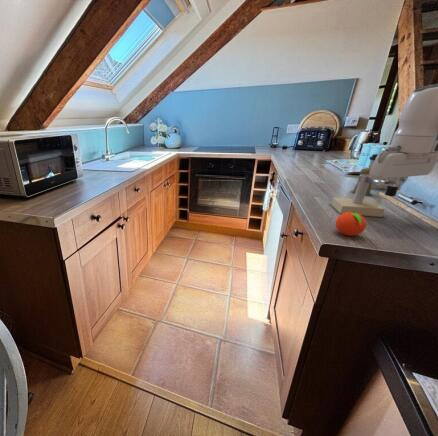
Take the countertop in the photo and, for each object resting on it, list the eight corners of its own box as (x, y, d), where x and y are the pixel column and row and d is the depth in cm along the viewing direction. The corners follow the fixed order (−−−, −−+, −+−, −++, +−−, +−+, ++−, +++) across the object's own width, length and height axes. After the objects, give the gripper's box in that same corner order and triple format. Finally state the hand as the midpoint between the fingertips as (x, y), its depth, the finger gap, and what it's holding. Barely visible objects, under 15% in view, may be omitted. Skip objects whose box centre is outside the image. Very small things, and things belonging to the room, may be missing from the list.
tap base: (368, 207, 92) (378, 178, 88) (381, 217, 83) (393, 186, 79) (331, 204, 96) (338, 177, 91) (340, 213, 87) (349, 183, 83)
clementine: (369, 242, 68) (378, 219, 65) (341, 240, 69) (348, 217, 66) (353, 230, 75) (360, 208, 72) (328, 228, 76) (334, 207, 73)
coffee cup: (386, 191, 109) (398, 157, 103) (359, 187, 115) (369, 155, 109) (386, 187, 116) (398, 154, 110) (361, 183, 122) (371, 153, 116)
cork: (368, 192, 109) (377, 167, 104) (371, 196, 104) (380, 170, 100) (351, 190, 112) (359, 166, 107) (353, 194, 107) (361, 169, 103)
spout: (399, 196, 75) (404, 184, 73) (387, 196, 75) (391, 184, 73) (364, 184, 87) (367, 174, 86) (353, 184, 88) (357, 174, 86)
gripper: (395, 148, 67) (378, 196, 73) (449, 144, 71) (429, 190, 76) (371, 146, 73) (357, 190, 78) (423, 142, 77) (406, 185, 82)
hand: (393, 190), depth 77 cm, fingers closed
